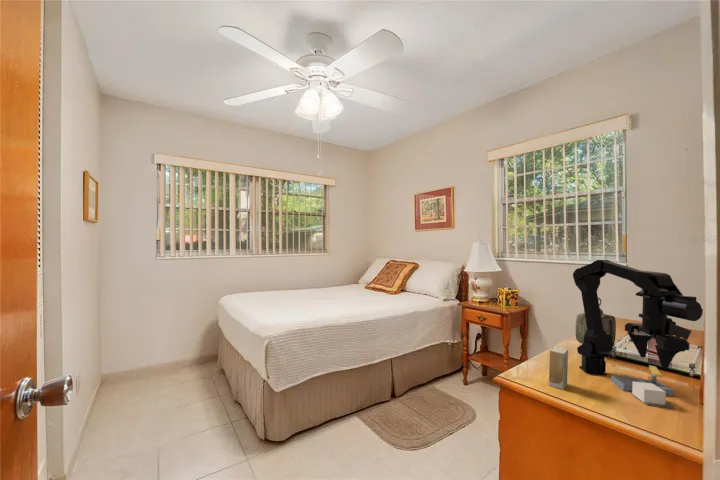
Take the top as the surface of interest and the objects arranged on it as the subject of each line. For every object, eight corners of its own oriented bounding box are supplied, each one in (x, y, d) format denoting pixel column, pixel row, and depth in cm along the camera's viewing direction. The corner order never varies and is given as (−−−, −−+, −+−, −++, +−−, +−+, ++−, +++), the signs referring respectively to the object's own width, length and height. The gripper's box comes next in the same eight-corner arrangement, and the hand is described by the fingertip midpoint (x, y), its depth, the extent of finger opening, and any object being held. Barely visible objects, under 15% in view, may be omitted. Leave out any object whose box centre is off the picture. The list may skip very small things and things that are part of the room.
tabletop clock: (595, 358, 131) (597, 300, 131) (573, 351, 139) (575, 296, 139) (615, 354, 137) (616, 298, 137) (592, 347, 145) (594, 294, 145)
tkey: (661, 390, 99) (661, 375, 99) (653, 388, 100) (653, 373, 100) (655, 380, 106) (656, 366, 106) (648, 379, 107) (648, 365, 107)
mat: (646, 405, 93) (647, 403, 93) (631, 394, 100) (631, 392, 100) (674, 408, 92) (674, 407, 92) (656, 396, 99) (657, 395, 99)
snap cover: (643, 402, 94) (644, 389, 94) (632, 393, 100) (632, 381, 100) (665, 404, 93) (665, 391, 93) (652, 396, 99) (652, 383, 99)
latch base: (623, 390, 103) (623, 384, 103) (610, 381, 109) (611, 375, 109) (673, 396, 100) (673, 389, 100) (657, 386, 107) (657, 379, 107)
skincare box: (553, 380, 109) (554, 345, 109) (567, 384, 106) (568, 349, 106) (548, 385, 104) (549, 349, 105) (563, 390, 101) (564, 353, 101)
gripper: (713, 322, 85) (711, 378, 85) (662, 308, 104) (661, 354, 104) (666, 319, 88) (664, 374, 88) (624, 306, 106) (623, 351, 106)
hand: (653, 362), depth 96 cm, fingers open, 9 cm apart
